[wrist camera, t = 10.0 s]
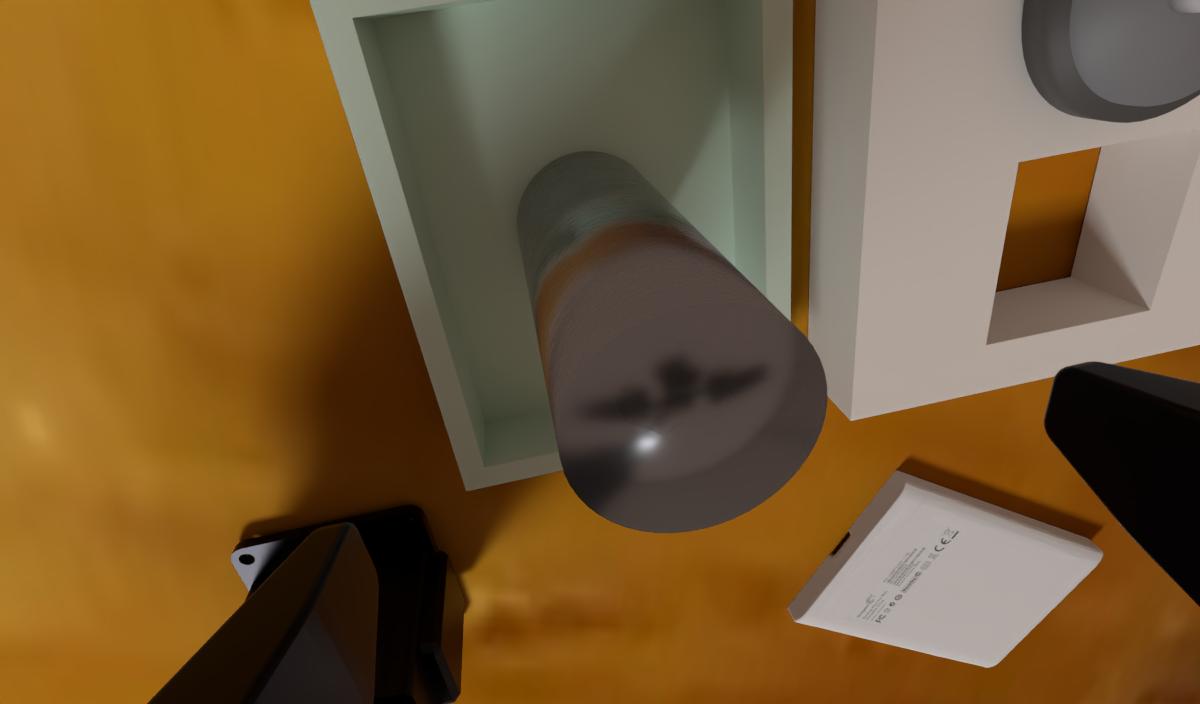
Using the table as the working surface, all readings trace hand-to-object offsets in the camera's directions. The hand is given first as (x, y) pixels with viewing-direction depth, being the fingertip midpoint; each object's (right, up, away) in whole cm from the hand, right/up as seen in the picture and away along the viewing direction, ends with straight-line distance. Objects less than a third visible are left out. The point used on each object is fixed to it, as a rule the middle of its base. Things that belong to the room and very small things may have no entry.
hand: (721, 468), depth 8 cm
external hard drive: (+14, -8, +21) cm, 27 cm away
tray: (-2, +5, +10) cm, 12 cm away
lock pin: (-2, +5, +10) cm, 11 cm away
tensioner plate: (+11, +8, +11) cm, 18 cm away
